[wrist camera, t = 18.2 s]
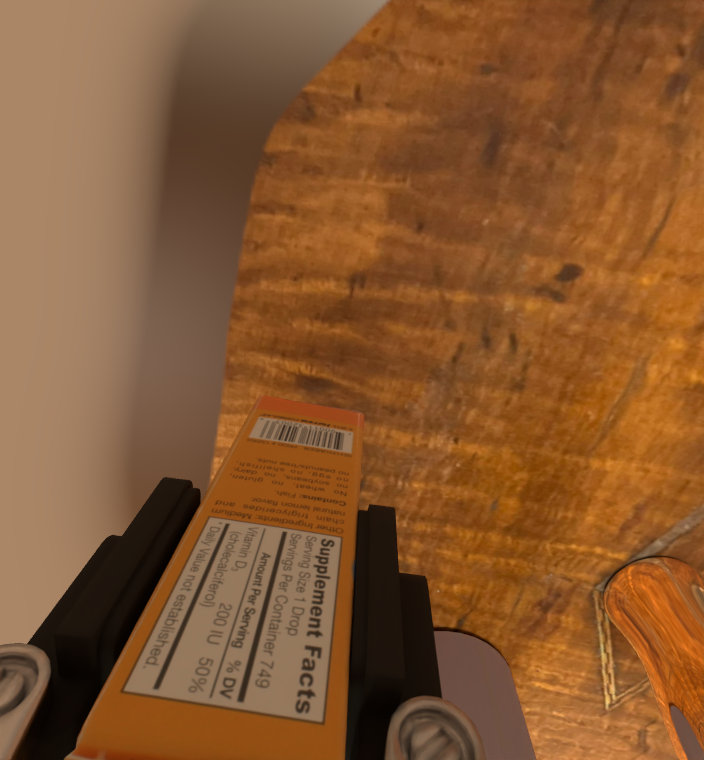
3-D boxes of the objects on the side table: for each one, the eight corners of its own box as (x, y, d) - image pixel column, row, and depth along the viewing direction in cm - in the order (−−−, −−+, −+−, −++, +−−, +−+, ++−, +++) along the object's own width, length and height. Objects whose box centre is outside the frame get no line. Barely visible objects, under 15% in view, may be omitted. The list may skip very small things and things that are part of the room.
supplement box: (358, 503, 16) (302, 966, 7) (249, 483, 16) (41, 913, 7) (377, 408, 15) (342, 811, 5) (259, 386, 15) (18, 748, 5)
